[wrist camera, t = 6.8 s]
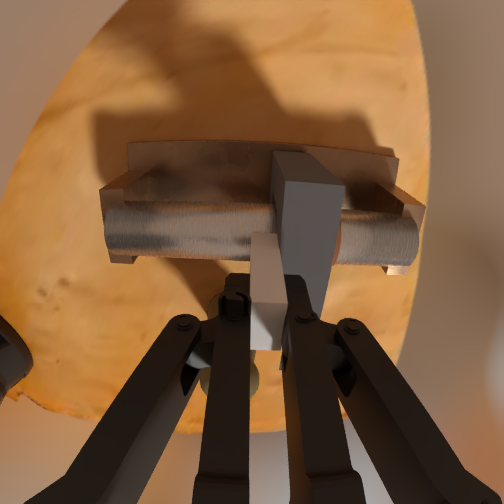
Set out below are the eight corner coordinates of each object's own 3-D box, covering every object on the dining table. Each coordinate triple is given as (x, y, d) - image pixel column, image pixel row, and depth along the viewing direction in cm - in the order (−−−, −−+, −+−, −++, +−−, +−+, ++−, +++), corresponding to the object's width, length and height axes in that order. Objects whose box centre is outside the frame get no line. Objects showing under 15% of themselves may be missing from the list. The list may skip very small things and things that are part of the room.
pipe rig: (140, 251, 29) (107, 303, 21) (130, 142, 24) (81, 162, 16) (374, 261, 29) (406, 313, 21) (395, 157, 24) (447, 182, 16)
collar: (265, 260, 27) (269, 337, 18) (272, 150, 23) (285, 180, 14) (297, 261, 27) (315, 337, 19) (309, 153, 23) (345, 186, 14)
